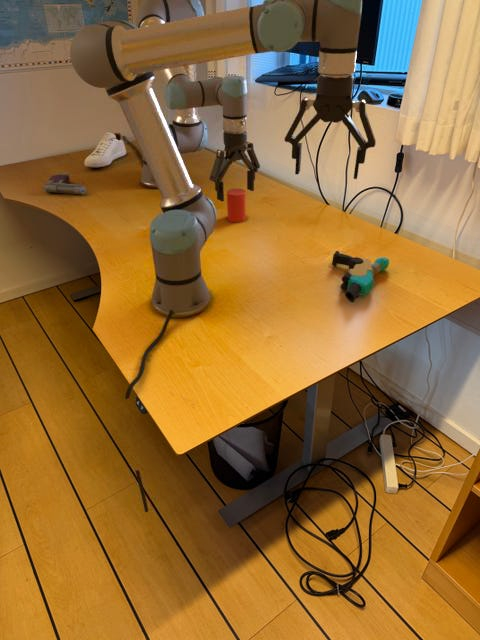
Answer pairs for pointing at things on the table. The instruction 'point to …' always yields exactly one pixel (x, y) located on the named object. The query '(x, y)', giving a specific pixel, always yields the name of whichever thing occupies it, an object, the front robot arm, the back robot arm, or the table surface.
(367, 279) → the toy gun
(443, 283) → the table surface
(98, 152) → the sneaker
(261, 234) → the table surface
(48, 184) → the toy gun
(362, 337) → the table surface
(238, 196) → the canister
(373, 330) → the table surface
